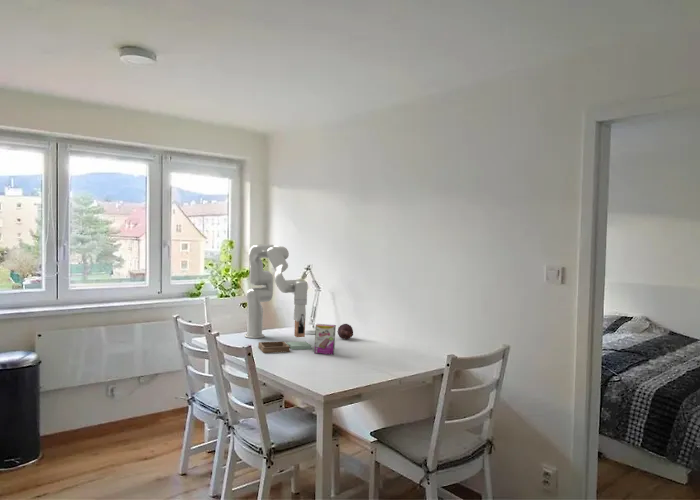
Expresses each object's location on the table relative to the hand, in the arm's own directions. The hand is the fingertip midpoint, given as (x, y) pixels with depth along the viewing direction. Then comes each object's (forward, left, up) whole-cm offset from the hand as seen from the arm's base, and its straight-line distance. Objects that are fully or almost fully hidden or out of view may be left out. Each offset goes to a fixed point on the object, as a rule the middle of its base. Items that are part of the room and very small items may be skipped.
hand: (299, 332), depth 311 cm
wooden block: (0, 0, -3) cm, 3 cm away
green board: (0, 0, -9) cm, 9 cm away
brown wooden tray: (+4, -16, -9) cm, 19 cm away
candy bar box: (+19, +10, -9) cm, 23 cm away
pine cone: (-19, +36, -9) cm, 42 cm away
